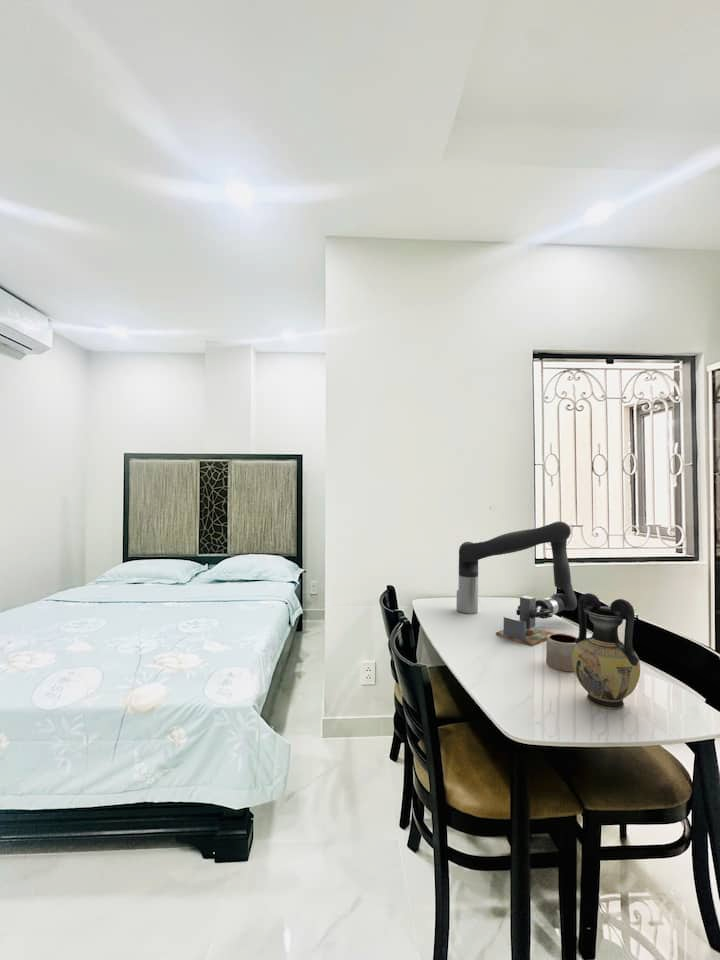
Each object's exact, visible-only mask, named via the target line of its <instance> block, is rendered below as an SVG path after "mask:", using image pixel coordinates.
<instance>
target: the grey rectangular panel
mask: <svg viewBox="0 0 720 960" xmlns="http://www.w3.org/2000/svg"><path fill="white" fill-rule="evenodd" d="M503 630H504V635H507V636H511V637H514V638H517V639H521V640H526V622H525V621H521V620H520V619H516V618H512V617H510V616H505V615H504V616H503Z"/></svg>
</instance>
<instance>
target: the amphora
mask: <svg viewBox="0 0 720 960" xmlns="http://www.w3.org/2000/svg"><path fill="white" fill-rule="evenodd" d="M577 609H578V637H577V639H576V640H575V643H576V644H577V645H576V646H575V648H574V650H573V655H572V661H573V668H574V671H575V672H574V673H575V676H576V678H577V681H578V682H579V684H580V685H581V686H582V688H583V689H584V690H585V691H586V692H587V696H586V699H587V700H588V701H589V702H590V703H591V704H593V705H595V706H597V707H600V708H603V709H608V710H609V709H610V710H619V709H622V708H623V707H624V706H625V702H624V699H626V698H627V697H629V696H630V695H631V694H632V693H634V692H633V691H634V690H635V689H636V687H637V685H638V683H639V679H640V677H641V662H640V658H639V656H638V655H637V653H636V651H635V650H634V647H633V635H634V623H635V610H634V606H633V605H632V604H631V602H629V601H628V600H625V599H622V598H618V599H615V600H613V601H612V602H611V604H610V606H603V605H602V606H601V601H600V599H599V597H598V596H597V595H595V594H593V593H588V592H587V593H584V594H581V596H580V597H579V599H578V600H577ZM587 614H588V619H589V621H590V622H591V623H592V625H593V631H592V635H591V636H590V637H587V631H588V625H587V622H588V621H587ZM624 620H625V624H624V637H623V641H621V640H620V637H619V633H618V629H619V627H620V626H621V625H622V624H623V622H624ZM621 707H622V708H621ZM618 708H619V709H618Z"/></svg>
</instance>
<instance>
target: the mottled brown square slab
mask: <svg viewBox="0 0 720 960" xmlns="http://www.w3.org/2000/svg"><path fill="white" fill-rule="evenodd" d="M553 633H554V632H551V631H546V630H543V629H539V628H538V632H537V633H534V635H528V634H526V640H521V639H517V638H514V637H511V636H507V635H504V629H501V630H499V631H496V632H495V636H498V637H500V638H504V639H507V640H511V641H515V642H517V643H520V644H525V645H528V646H531V647H533V646H536V645H539V644H541V643H543V642H547V635H548V634H553Z"/></svg>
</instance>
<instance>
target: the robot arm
mask: <svg viewBox="0 0 720 960" xmlns="http://www.w3.org/2000/svg"><path fill="white" fill-rule="evenodd" d="M571 530H572V529H571V527H570V525H569V524H568V523H566V522H564V521H554V522H552V523H549V524H546V525H544V526H540V527H536V528H530V529H522V530H518V531H517V530H516V531H512V532H508V533H507V532H506V533H504V534H500V535H498V536H496V537H494V538H493V537H492V538H490V539H488V540H485V541H480V542H471V541H464V542H463V543H461V544H460V546H459V548H458V590H456V611H458V612H459V613H463V614H471V615H472V614H478V612H479V610H478V609H479V607H478V606H479V604H478V603H479V560H483V559H485V558H486V559H487V558H489V557H492V556H502V555H505V554H506V555H507V554H512V553H517V552H520V551H521V552H522V551H524V550H527V549H528V550H529V549H531V548H533V547H537V546H539V545H541V544H547V543H550V546H551V553H552V564H553V565H552V566H553V568H552V570H553V582H554V586H555V588H558V589H561V590H563V592H564V593H554V594H552V595H551V596H550V597H544V598H540V599H538V600H537V599H536V612H532V613H530V618H531V619H533V618H535V619H549V618H553V615H556V614H558V613H561V612H562V611H574V610H576V608H578V600H577V599H578V598H577V596H576V594H575V591H574V589H573V585H572V578H571V577H572V576H571V568H570V563H569V559H568V552H567V545H568V543H567V541H568V539H569V537H570V536H571V533H572V531H571ZM515 614H516V616H520V604H519V605H518V606H517V609H516V613H515Z"/></svg>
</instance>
